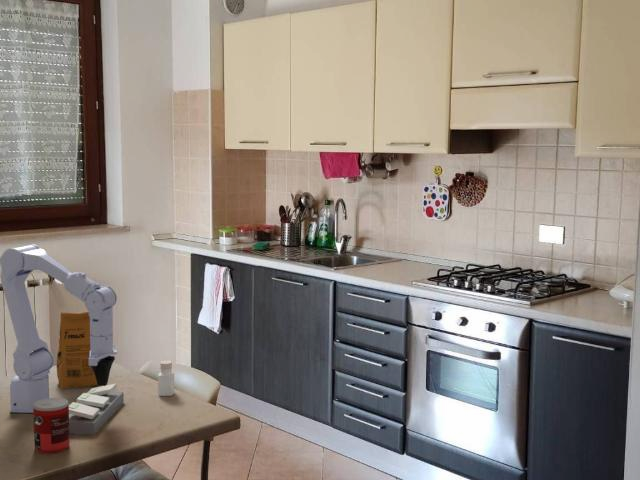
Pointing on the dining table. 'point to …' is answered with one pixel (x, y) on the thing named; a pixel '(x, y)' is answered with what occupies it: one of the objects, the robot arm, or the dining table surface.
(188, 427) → the dining table surface
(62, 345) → the coffee package
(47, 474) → the dining table surface
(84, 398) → the rocker
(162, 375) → the pepper shaker
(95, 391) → the rocker
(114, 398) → the switch strip
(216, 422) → the dining table surface
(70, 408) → the rocker
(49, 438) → the canned food
